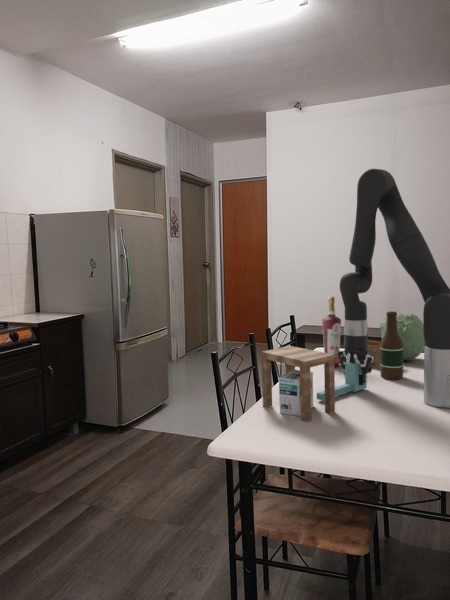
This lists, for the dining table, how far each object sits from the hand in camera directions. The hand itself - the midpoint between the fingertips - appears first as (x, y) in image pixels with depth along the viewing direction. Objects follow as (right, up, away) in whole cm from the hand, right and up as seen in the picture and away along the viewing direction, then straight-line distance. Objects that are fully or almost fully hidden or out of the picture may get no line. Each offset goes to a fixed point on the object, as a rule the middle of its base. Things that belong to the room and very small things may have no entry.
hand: (356, 383), depth 156 cm
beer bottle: (+17, 0, +14) cm, 22 cm away
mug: (+15, +1, +33) cm, 37 cm away
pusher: (-6, -2, -4) cm, 8 cm away
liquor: (0, +1, +33) cm, 33 cm away
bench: (-22, -5, -16) cm, 27 cm away
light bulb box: (-22, -5, -16) cm, 28 cm away
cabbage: (+31, +3, +39) cm, 49 cm away
